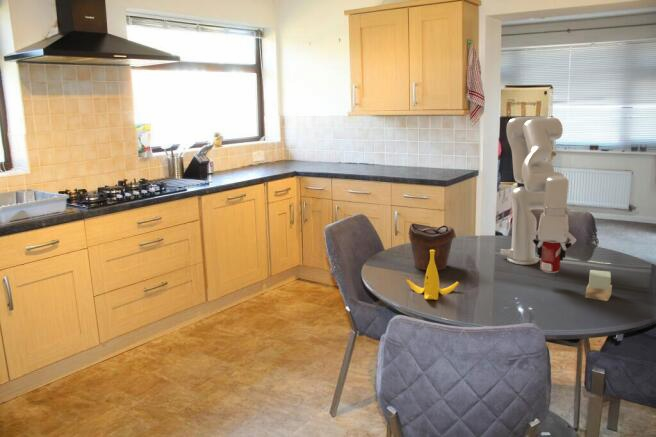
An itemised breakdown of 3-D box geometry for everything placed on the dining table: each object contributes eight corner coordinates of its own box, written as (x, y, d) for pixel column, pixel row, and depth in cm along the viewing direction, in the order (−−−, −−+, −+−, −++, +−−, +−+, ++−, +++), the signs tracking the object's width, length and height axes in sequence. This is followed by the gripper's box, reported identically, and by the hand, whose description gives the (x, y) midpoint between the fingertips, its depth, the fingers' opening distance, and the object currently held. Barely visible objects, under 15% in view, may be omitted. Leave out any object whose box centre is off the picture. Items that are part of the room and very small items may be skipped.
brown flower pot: (464, 268, 239) (465, 225, 235) (421, 275, 232) (421, 231, 228) (440, 257, 255) (440, 217, 252) (400, 264, 248) (399, 223, 245)
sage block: (589, 287, 204) (590, 275, 203) (589, 281, 210) (590, 269, 209) (609, 289, 201) (611, 277, 200) (609, 283, 207) (610, 271, 206)
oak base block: (585, 298, 205) (586, 287, 204) (589, 292, 211) (590, 281, 210) (607, 301, 201) (608, 290, 200) (611, 295, 207) (612, 284, 206)
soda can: (550, 275, 212) (553, 243, 208) (536, 269, 218) (538, 238, 214) (563, 271, 215) (566, 240, 211) (549, 266, 221) (551, 235, 217)
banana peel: (429, 305, 202) (429, 259, 198) (405, 288, 220) (405, 244, 216) (471, 299, 207) (473, 253, 203) (445, 282, 224) (446, 240, 221)
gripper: (581, 210, 210) (576, 257, 215) (530, 206, 217) (527, 252, 222) (580, 215, 203) (576, 264, 208) (528, 211, 210) (524, 258, 215)
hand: (550, 257), depth 215 cm, fingers closed on soda can, 6 cm apart
